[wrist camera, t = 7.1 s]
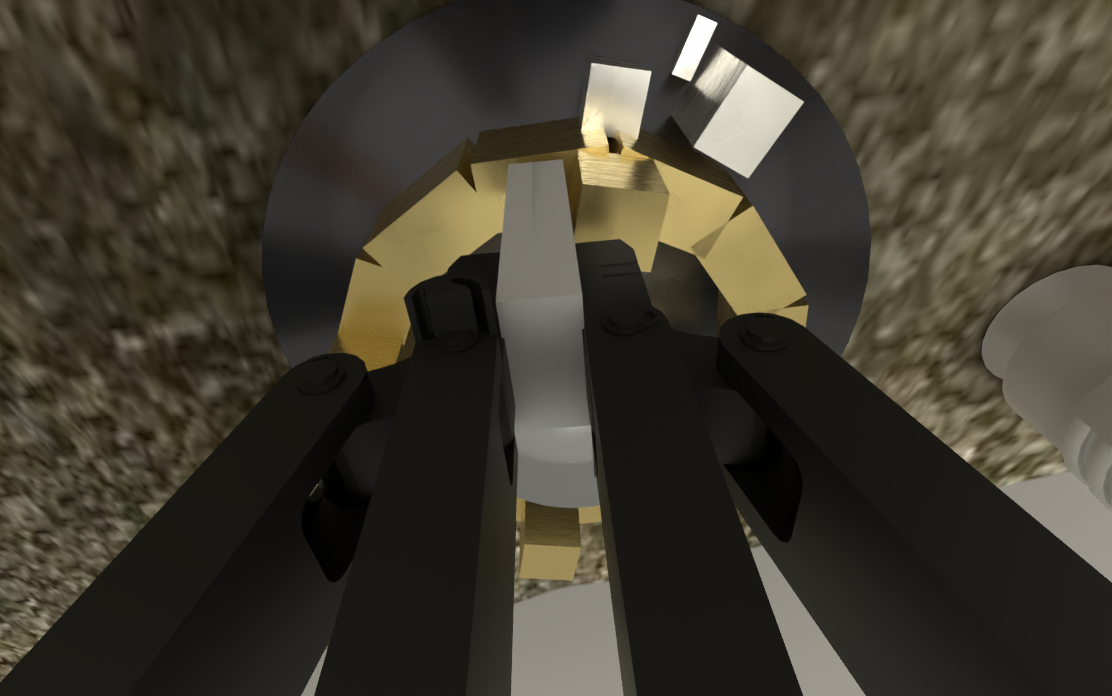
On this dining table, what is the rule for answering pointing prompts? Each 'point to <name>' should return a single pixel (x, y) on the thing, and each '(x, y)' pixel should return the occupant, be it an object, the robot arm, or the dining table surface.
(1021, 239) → the dining table surface
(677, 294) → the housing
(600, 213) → the ring nut
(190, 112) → the dining table surface
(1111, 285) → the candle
